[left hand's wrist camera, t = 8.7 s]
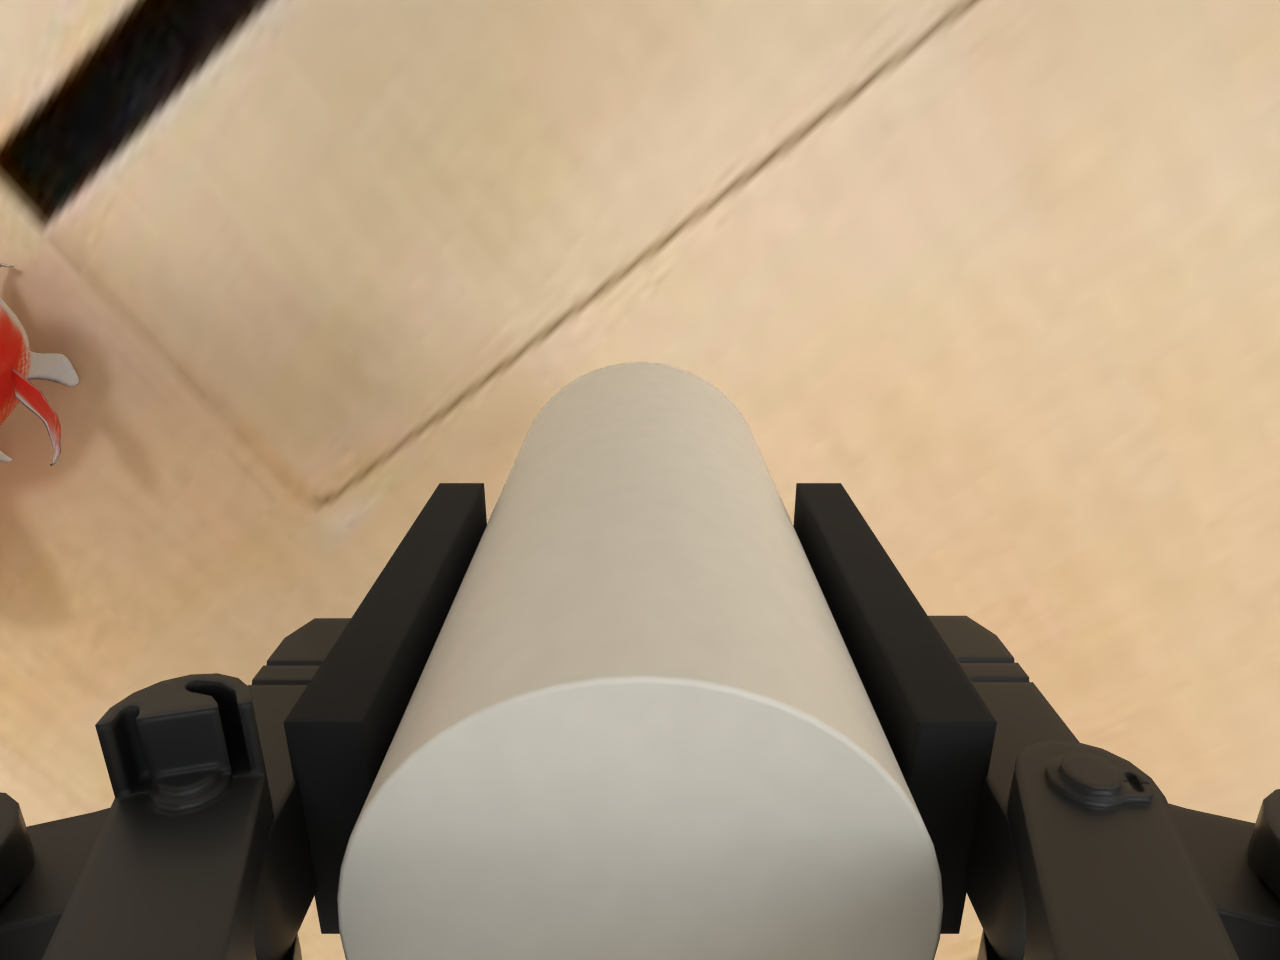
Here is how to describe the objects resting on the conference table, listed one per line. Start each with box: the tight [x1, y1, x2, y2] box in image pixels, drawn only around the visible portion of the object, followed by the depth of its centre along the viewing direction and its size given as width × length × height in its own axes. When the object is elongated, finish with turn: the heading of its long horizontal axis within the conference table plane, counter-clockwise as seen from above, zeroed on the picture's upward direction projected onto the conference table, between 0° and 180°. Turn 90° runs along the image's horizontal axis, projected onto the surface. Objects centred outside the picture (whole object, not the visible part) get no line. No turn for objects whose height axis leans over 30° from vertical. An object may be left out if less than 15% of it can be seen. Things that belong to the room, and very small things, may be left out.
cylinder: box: [337, 362, 943, 960], centre depth 13 cm, size 5×5×12 cm
